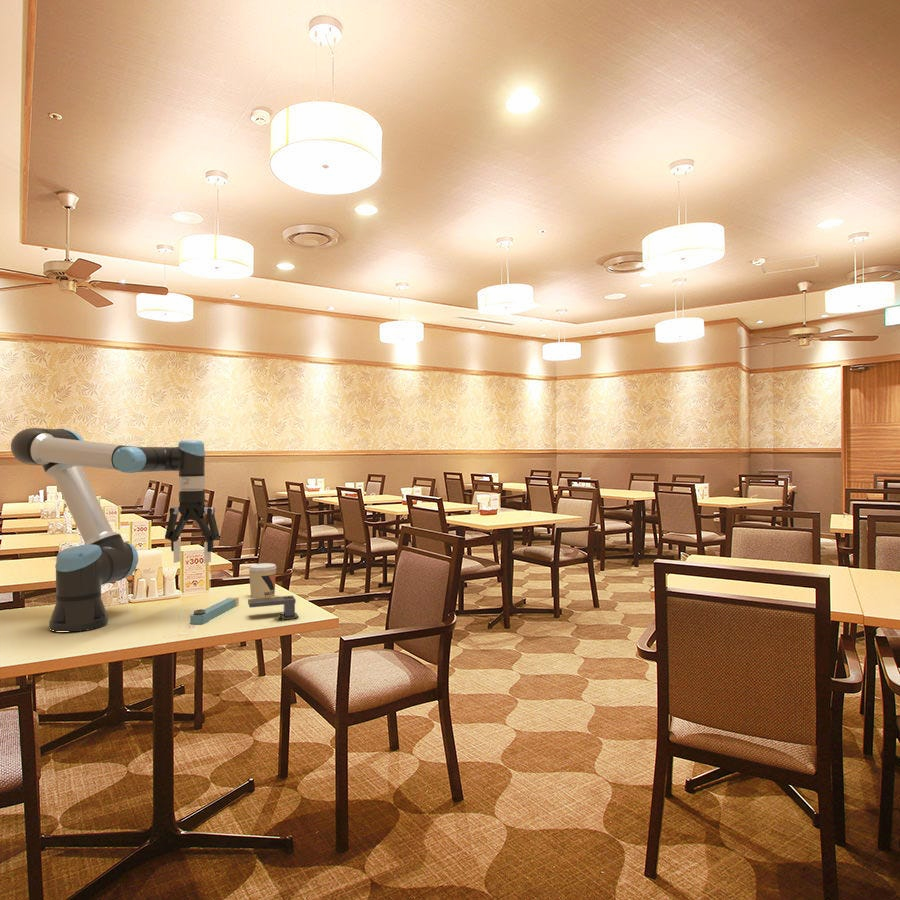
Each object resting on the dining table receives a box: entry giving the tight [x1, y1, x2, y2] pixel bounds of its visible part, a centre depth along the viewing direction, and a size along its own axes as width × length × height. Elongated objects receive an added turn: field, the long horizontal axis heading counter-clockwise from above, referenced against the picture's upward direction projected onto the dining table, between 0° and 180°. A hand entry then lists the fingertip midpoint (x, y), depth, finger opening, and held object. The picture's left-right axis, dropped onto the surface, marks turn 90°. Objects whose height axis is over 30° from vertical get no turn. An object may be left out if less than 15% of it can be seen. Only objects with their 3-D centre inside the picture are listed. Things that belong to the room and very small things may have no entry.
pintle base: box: [193, 608, 205, 615], centre depth 190 cm, size 10×10×5 cm
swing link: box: [189, 596, 240, 625], centre depth 199 cm, size 24×4×3 cm, turn 173°
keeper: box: [247, 595, 300, 621], centre depth 198 cm, size 14×6×6 cm, turn 113°
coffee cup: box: [248, 562, 277, 599], centre depth 225 cm, size 9×9×12 cm
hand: (192, 562), depth 199 cm, fingers open, 9 cm apart
